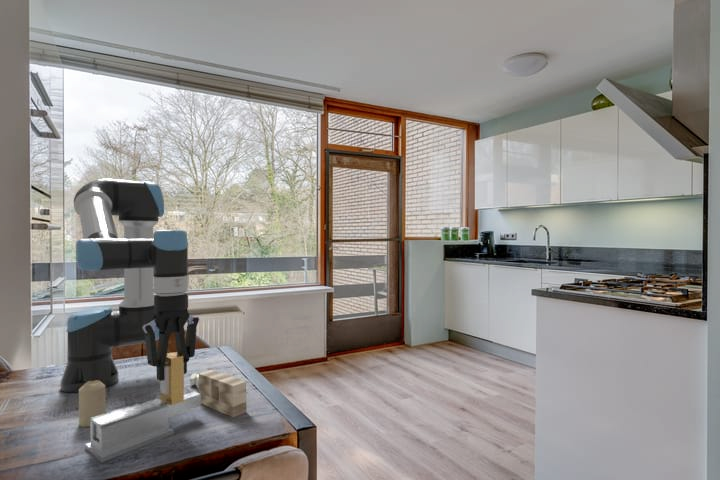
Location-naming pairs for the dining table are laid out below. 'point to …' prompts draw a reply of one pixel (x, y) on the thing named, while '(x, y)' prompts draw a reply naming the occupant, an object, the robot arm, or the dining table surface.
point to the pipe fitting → (194, 379)
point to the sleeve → (128, 429)
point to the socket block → (222, 392)
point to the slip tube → (176, 389)
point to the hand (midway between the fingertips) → (172, 390)
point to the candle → (91, 401)
